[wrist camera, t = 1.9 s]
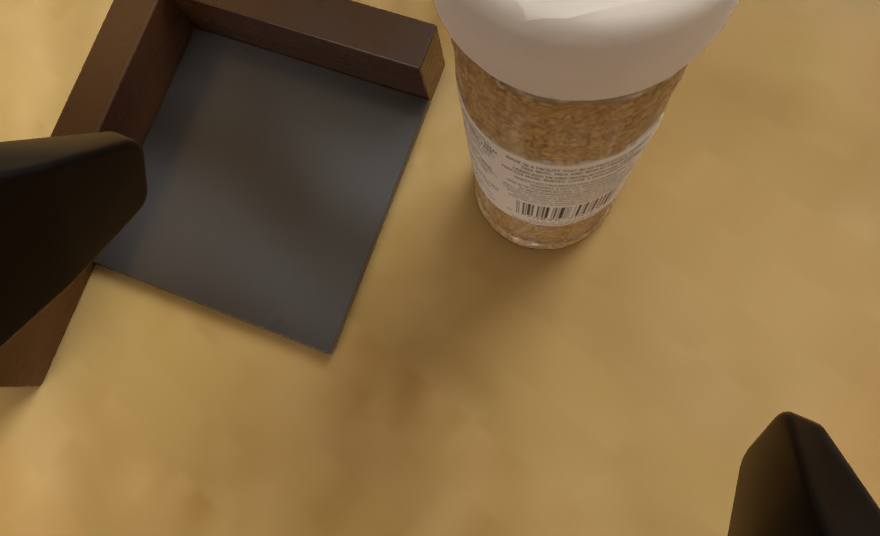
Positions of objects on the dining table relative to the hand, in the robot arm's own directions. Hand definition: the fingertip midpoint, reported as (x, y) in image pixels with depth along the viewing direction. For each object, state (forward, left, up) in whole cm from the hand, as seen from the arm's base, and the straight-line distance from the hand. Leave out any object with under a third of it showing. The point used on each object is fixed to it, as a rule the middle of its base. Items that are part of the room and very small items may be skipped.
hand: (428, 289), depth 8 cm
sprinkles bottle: (+5, 0, -12) cm, 13 cm away
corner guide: (+1, +9, -12) cm, 15 cm away
